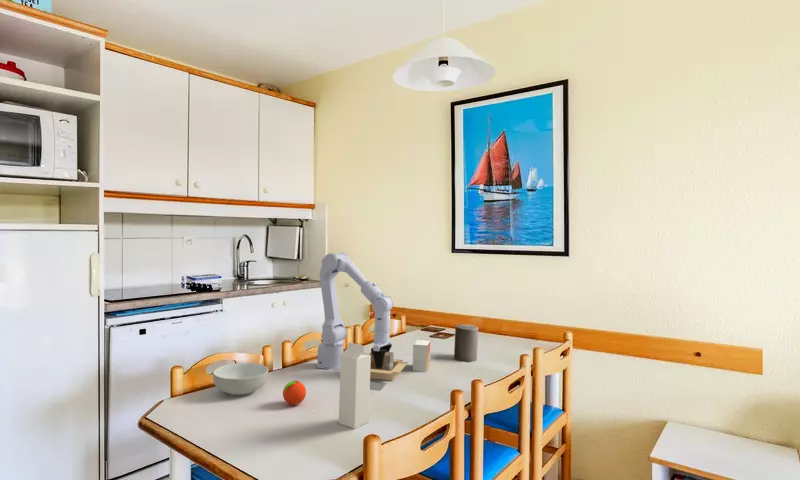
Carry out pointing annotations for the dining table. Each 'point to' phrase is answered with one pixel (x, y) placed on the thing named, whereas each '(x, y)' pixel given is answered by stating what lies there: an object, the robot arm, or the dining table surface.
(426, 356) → the small box
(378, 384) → the mat
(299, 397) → the clementine
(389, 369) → the block
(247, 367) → the cereal bowl
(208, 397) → the dining table surface
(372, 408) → the dining table surface
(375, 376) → the tan shallow tray
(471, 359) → the pillar candle
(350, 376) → the milk
